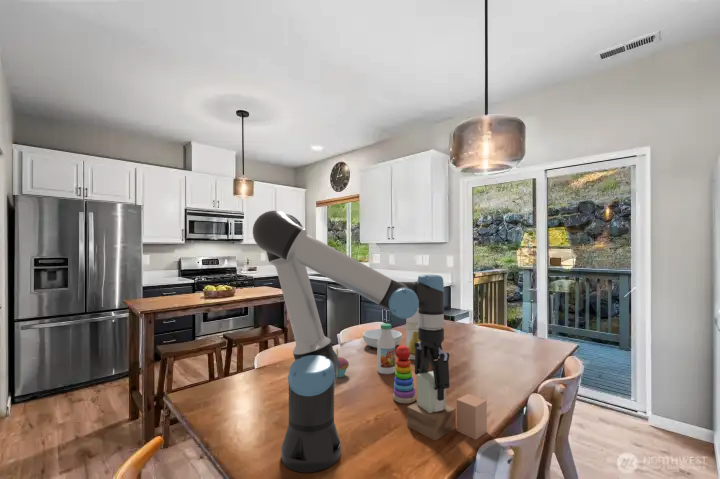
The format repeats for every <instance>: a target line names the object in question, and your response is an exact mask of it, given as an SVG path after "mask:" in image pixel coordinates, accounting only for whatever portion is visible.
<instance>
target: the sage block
mask: <svg viewBox="0 0 720 479" xmlns="http://www.w3.org/2000/svg"><path fill="white" fill-rule="evenodd" d="M434 387H436V385H435V379H434V374H433V370H432V371H428V372H426V373H421V374H417V375H416V402H417V405H419V406H420V407H421V408H423V409H424V410H426V411H427V412H428V413H432V412H435V411H434ZM446 405H447V388H446V389H444V400H443V409H446Z"/></svg>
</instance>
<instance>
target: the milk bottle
mask: <svg viewBox="0 0 720 479" xmlns="http://www.w3.org/2000/svg"><path fill="white" fill-rule="evenodd" d="M380 329H381V335H380V337H379V339H378V344H377V348H376V349H377V350H376V355H377V356H376V361H377V362H376V363H377V364H376V371H377V372H378V374H381V375H392V374H395V372H396V346H395V342H394V339H393V337H392V334H391V330H393V328H392V324H391V323H381V324H380Z"/></svg>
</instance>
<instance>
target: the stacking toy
mask: <svg viewBox="0 0 720 479" xmlns="http://www.w3.org/2000/svg"><path fill="white" fill-rule="evenodd" d="M395 357H397V359H395V372H394V383H393V394H392V399H393V400H394V401H395V402H397V403H399V404H411V403H412V404H413V403H414V402H415V401H416V400H417V394H416V389H415V385H414V377H413V372H412V370H413V369H412V365H411V364H412V363H411V359H408V358H409V357H410V350H409V348H408V347H407V346H406V345H405V344H403V345H399V346H397V347H396V348H395Z"/></svg>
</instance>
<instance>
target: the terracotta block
mask: <svg viewBox="0 0 720 479" xmlns="http://www.w3.org/2000/svg"><path fill="white" fill-rule="evenodd" d="M487 403H488V402H487V400H486V399H484V398H480V397H479V396H478V397H477V396H475V395H472V394H470V393H467V394H465V395H463V396H461V397H459V398H457V399H456V431H457V432H458V433H461V434H463V435H465V436H467V437H469V438H472V439H473V440H477V439H479V438H480V437H482V436H483V435H485V434H486V433H487V432H488V427H487V426H488V424H487V423H488V422H487V421H488V419H487V417H488V416H487V415H488V414H487V409H488V407H487V406H488V405H487Z"/></svg>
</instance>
